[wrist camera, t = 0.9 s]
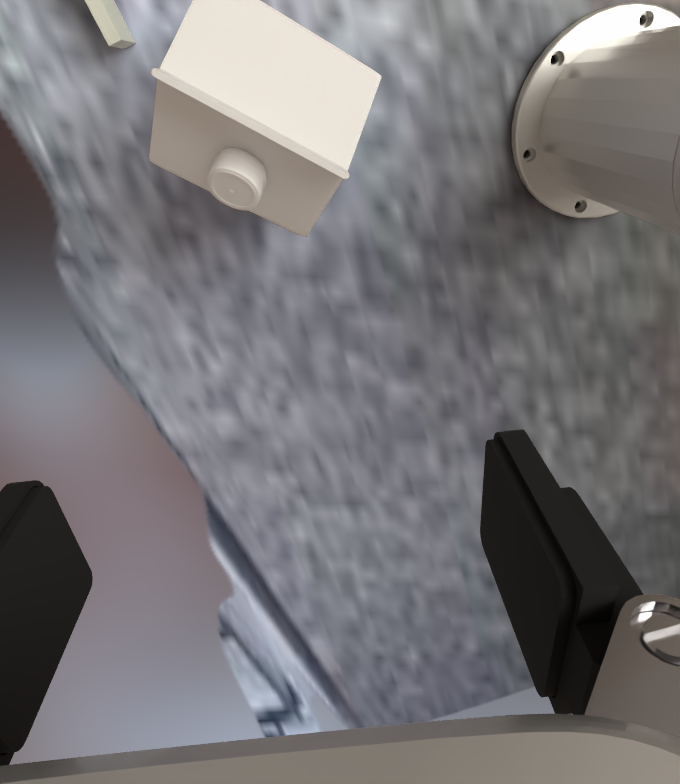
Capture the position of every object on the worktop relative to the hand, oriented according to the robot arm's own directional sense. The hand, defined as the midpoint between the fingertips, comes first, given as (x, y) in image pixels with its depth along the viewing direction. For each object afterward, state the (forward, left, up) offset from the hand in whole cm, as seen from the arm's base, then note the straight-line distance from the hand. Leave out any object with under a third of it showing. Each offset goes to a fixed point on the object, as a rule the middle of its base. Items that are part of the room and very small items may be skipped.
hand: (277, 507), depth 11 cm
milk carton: (-2, -7, -30) cm, 31 cm away
